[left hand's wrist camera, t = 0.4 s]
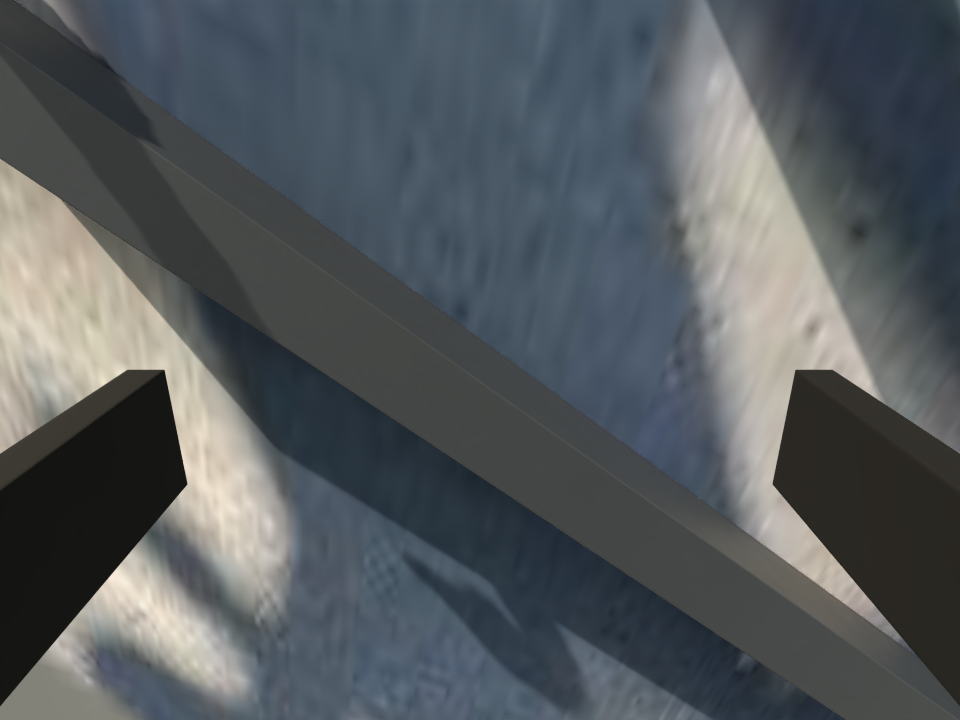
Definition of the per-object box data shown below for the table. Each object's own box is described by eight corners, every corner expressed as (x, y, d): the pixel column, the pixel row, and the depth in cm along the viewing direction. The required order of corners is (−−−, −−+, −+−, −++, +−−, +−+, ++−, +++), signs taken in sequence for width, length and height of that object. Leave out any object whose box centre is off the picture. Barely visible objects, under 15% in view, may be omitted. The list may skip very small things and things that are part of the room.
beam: (-86, 31, 33) (-234, 4, 26) (-55, -50, 32) (-202, -102, 25) (872, 692, 51) (933, 778, 44) (918, 657, 49) (989, 741, 42)
